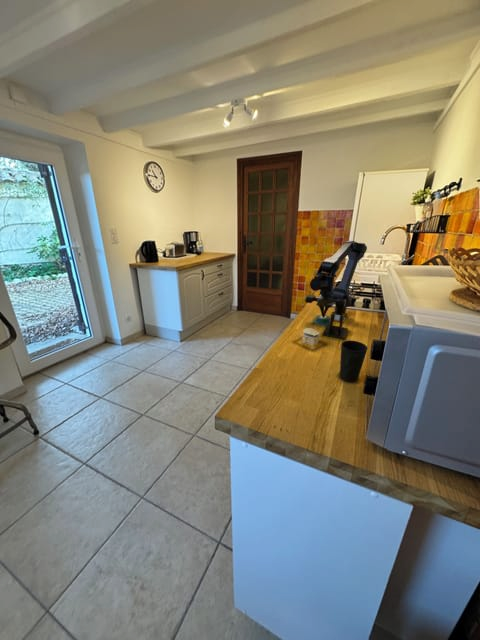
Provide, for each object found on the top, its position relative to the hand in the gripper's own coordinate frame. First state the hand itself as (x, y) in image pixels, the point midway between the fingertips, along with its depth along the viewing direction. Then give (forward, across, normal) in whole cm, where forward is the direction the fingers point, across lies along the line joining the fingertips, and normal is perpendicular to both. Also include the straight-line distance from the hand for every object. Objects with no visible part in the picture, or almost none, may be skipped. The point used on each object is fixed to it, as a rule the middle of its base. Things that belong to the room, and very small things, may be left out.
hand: (323, 317), depth 129 cm
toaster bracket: (+3, +8, -11) cm, 14 cm away
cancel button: (+2, 0, 0) cm, 2 cm away
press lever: (-2, +8, -7) cm, 11 cm away
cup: (+3, +18, -45) cm, 49 cm away
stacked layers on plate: (+3, 0, -26) cm, 26 cm away
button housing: (+3, 0, 0) cm, 3 cm away
